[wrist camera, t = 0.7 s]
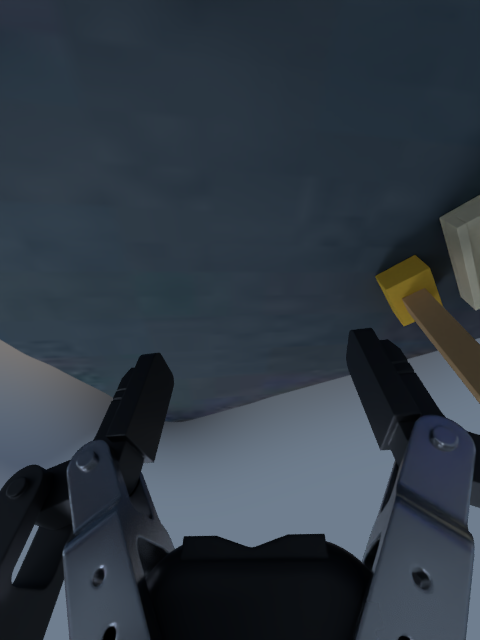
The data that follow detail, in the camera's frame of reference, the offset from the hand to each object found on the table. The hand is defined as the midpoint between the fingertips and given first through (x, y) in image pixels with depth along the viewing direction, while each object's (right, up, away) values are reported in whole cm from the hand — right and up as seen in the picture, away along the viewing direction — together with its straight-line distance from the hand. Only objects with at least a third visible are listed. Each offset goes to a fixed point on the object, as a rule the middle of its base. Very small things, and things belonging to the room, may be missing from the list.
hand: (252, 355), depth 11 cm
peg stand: (+20, +6, +20) cm, 29 cm away
